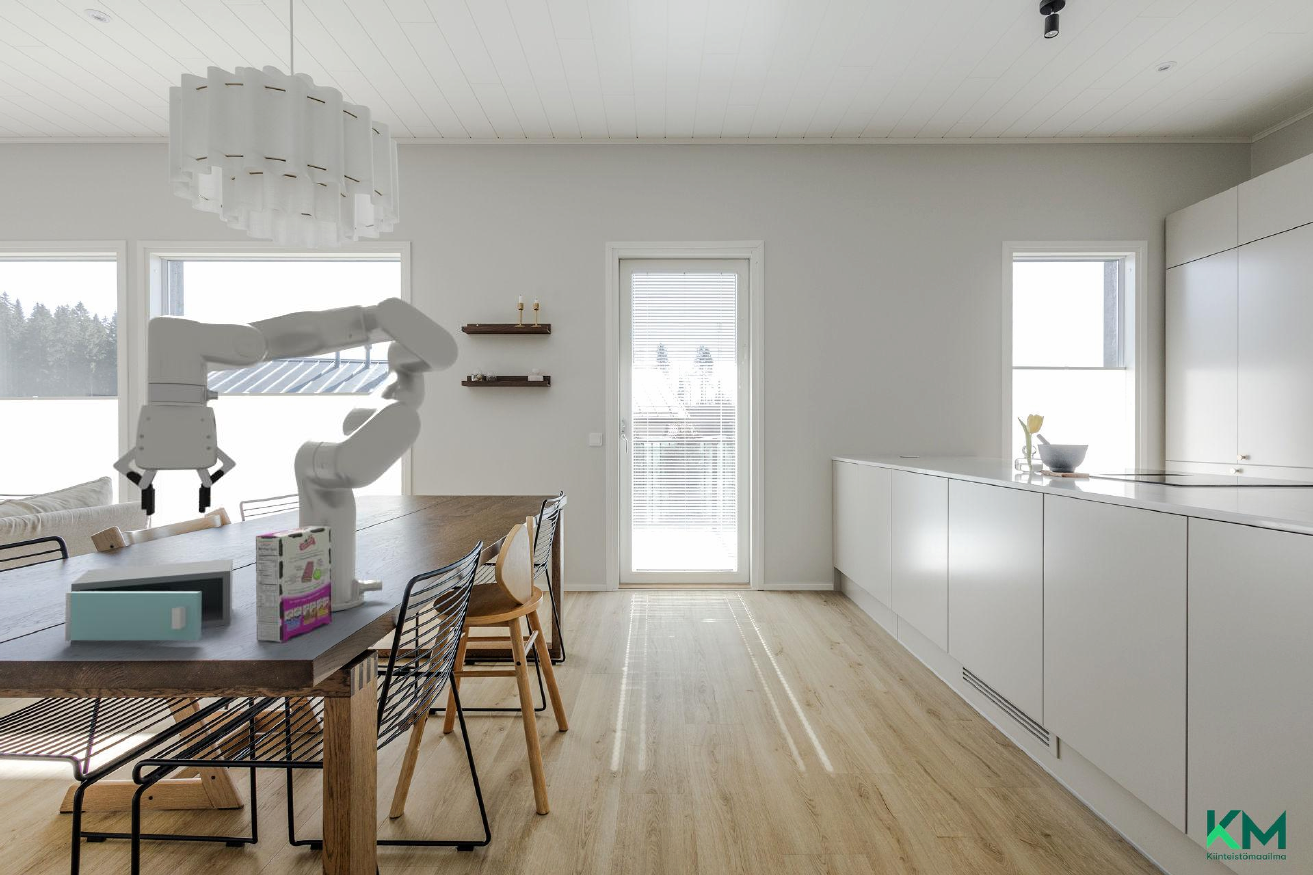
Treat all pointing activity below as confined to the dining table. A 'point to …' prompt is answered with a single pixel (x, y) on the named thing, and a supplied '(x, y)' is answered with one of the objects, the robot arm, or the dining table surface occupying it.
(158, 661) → the dining table surface
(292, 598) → the candy bar box
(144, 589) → the case
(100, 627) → the side door
